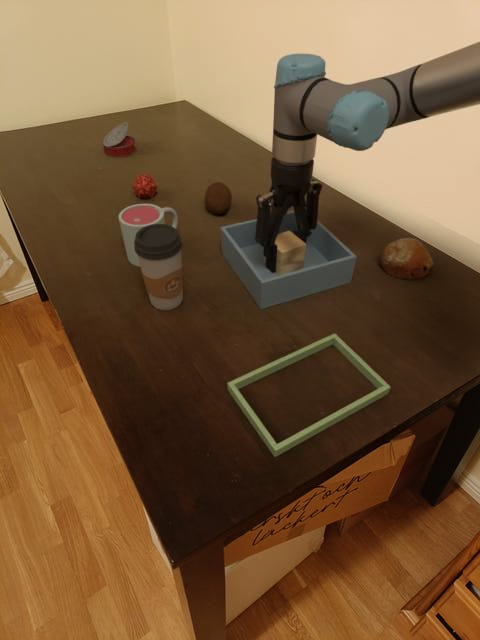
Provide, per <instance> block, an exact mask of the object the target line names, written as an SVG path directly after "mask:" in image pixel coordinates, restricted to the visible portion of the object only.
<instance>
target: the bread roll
mask: <svg viewBox="0 0 480 640" xmlns="http://www.w3.org/2000/svg"><path fill="white" fill-rule="evenodd" d="M430 254H431V253H430V252H429V250H428V249H427V248H426V246H425V245H424V244H423V243H422V242H421V241H420V240H419V239H417V238H414V237H405V238H399V239H396V240H395V241H393V242H390V243H389V244H387V245H386V246H385V247H384V249H383V250H382V251H381V254H380V257H379V263H380V266H381V268H382V269H383V270H384V271H385V272H386V273H387V274H388V275H391V276H393V277H395V278H398V279H401V280H409V281H415V280H419V279H422V278H423V277H425V276H426V275H427V274H430V273H432V270H431V267H432V266H434V264H435V263H434V262H433V258H432V257H431V255H430Z"/></svg>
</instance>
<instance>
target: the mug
mask: <svg viewBox="0 0 480 640" xmlns="http://www.w3.org/2000/svg"><path fill="white" fill-rule="evenodd" d="M167 213H168V214H170V215H171V216H172V225H171V226H172V227H174V228H175V229H176V230H177V228H178V224H179V216H178V214H177V212H176V210H175V209H174V208H172V207H169V206H164V207H160V206H159V205H157V204H154V203H153V204H152V203H136V204H132V205H129V206H126V207H125V208H124V209H122V210H121V211H120V212H119V214H118V221H119V225H120V230H121V234H122V239H123V244H124V248H125V254H126V257H127V261H128V262H129V263H130V264H131V265H133V266H135V267H139V268H141V266H140V263H139V259H138V256H137V253H136V252H135V249H134V247H135V246H134V241H135V236H136V233H137V232H138V231H139V230H140V229H141V228H143V227H145V226H149V225H153V224H166V218H165V214H167Z"/></svg>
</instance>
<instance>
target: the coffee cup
mask: <svg viewBox="0 0 480 640" xmlns="http://www.w3.org/2000/svg"><path fill="white" fill-rule="evenodd" d="M134 246H135V247H134V249H135V252H136V253H137V256H138V259H139V263H140V266H141V267H140V271H141V275H142V278H143V282H144V285H145V289H146V291H147V294H148V298H149V302H150V304H151V305H152V306H153V307H154V308H155V309H157V310H159V311H166V312H167V311H173V310H174V309H177V308H178V307H179V306H180V305H181V304H182V302H183V300H184V276H183V275H184V271H183V270H184V269H183V267H184V266H183V257H182V247H183V241H182V237H181V235H180V233H179V232H178V230H177V228H176V229H175V228H174V227H172V225H169V224H166V223H165V224H153V225H149V226H145V227H143V228H141V229H140V230H139V231H138V232H137V233H136V236H135V241H134Z"/></svg>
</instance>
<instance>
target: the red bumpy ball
mask: <svg viewBox="0 0 480 640" xmlns="http://www.w3.org/2000/svg"><path fill="white" fill-rule="evenodd" d="M158 187H159V185H158V184H157V182H156V181H155V179H154V178H153V176H152V174H137V175H136V177H135V180H134V181H133V184H132V186H131V188H132V190H133V191H134V192H135V194H136V195H137V197H138V198H139V199H153V198H154V196H155V194H156V192H157V189H158Z"/></svg>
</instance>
